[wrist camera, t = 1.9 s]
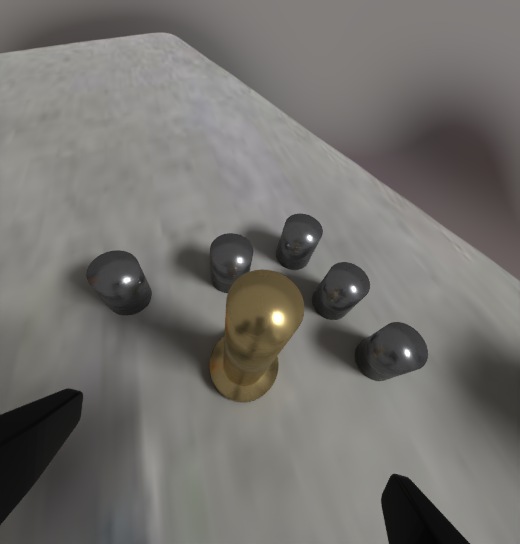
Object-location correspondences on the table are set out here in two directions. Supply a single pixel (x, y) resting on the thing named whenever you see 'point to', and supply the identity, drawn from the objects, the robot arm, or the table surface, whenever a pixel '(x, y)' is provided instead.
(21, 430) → the robot arm
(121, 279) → the cylinder
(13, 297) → the table surface
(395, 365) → the dark grey domed cylinder
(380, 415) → the table surface
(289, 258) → the cylinder
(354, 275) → the dark grey domed cylinder
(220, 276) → the dark gray domed cylinder
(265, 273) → the brass pin
